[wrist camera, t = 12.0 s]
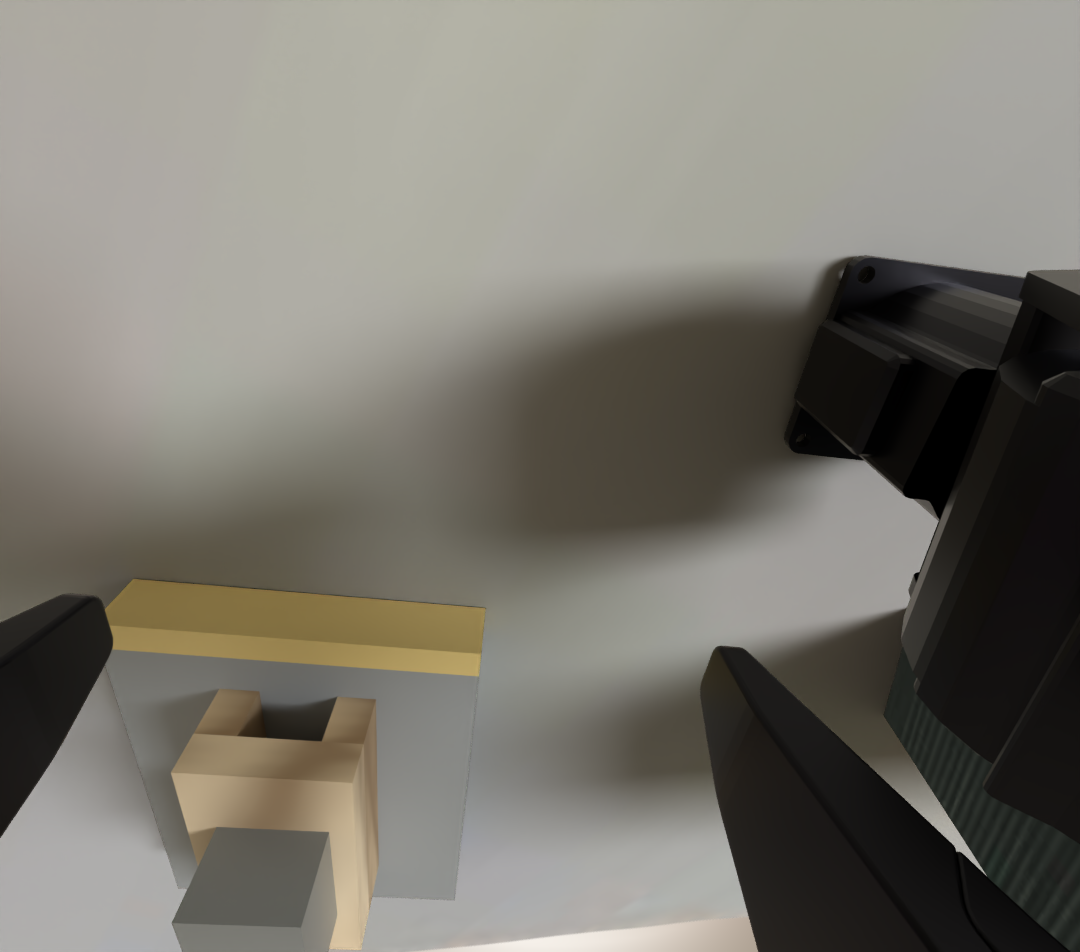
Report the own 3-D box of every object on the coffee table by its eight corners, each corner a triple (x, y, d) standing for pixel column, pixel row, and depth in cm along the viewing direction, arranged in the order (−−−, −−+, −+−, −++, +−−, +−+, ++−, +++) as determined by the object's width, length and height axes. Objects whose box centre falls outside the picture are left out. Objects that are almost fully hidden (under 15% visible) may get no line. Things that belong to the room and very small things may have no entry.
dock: (485, 608, 24) (481, 653, 22) (459, 850, 32) (454, 901, 30) (133, 578, 23) (90, 624, 21) (202, 837, 31) (178, 889, 29)
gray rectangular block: (329, 832, 21) (301, 927, 18) (337, 914, 24) (314, 1007, 21) (216, 827, 21) (171, 923, 18) (238, 911, 24) (202, 1005, 21)
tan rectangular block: (376, 699, 23) (352, 783, 20) (378, 865, 29) (360, 950, 25) (219, 688, 22) (170, 772, 19) (254, 859, 28) (220, 945, 25)
